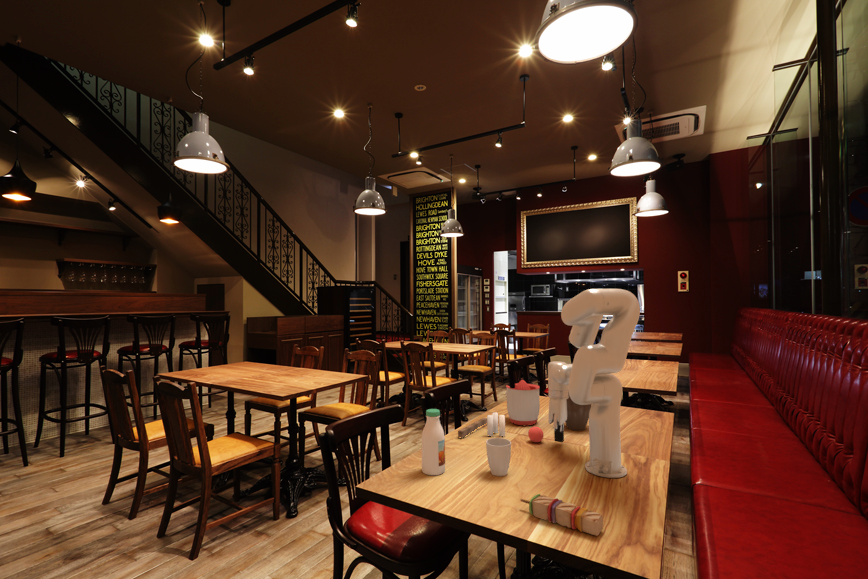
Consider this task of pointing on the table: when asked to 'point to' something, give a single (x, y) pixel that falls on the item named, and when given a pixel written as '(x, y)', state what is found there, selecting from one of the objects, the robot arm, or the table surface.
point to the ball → (535, 434)
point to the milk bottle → (433, 444)
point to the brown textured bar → (471, 427)
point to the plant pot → (577, 415)
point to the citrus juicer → (523, 403)
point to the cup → (498, 455)
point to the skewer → (565, 514)
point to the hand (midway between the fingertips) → (559, 441)
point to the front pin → (502, 425)
